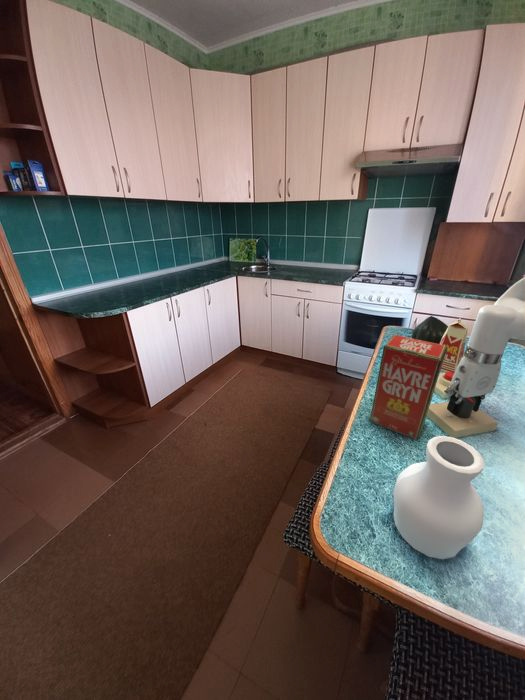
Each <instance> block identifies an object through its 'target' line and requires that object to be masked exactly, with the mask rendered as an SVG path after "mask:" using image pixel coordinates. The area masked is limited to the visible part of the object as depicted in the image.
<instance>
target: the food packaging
mask: <svg viewBox="0 0 525 700" xmlns="http://www.w3.org/2000/svg"><path fill="white" fill-rule="evenodd" d="M446 351H447V346H446V345H441V344H436V343H431V342H426V341H422V340H417V339H413V338H412V337H407V336H403V335H399V334H392V335H391V337H390V338H389V339H388V341H387V342H386V343H385V345H383V350H382V355H381V358H380V359H381V360H380V365H379V369H378V376H377V380H376V386H375V387H376V388H375V392H374V396H373V400H372V407H371V411H370V417H369V422H371V423H374V424H376V425H378V426H381V427H383V428H386V429H388V430H390V431H393V432H395V433H399V434H401V435H403V436H405V437H408V438H411V439H413V440H416V441H417V440H419V438H420V436H421V434H422V431H423V428H424V426H425V422H426V420H427V413H428V410H429V407H430V405H431V403H432V400H433V396H434V394H435V392H434V390H435V386H436V383H437V380H438V377H439V375H440V374H441V367H442V364H443V360H444V357H445V354H446Z"/></svg>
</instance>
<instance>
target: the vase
mask: <svg viewBox="0 0 525 700" xmlns="http://www.w3.org/2000/svg"><path fill="white" fill-rule="evenodd" d="M425 456H426V461H420V462H415V463H412V464H410V465H408V466H407V467H406V468H404V469H402V471H401V472H399V474H398V476H397V479H396V481H395V485H394V487H393V493H392V494H393V496H392V497H393V507H394V508H393V519H394V524H395V527H396V529H397V531H398V532H399V534H400V536H401V537H402V539H403V540H404V541H406V542H407V544H408V545H410V546H411V548H412V549H415V550H416V551H418V552H419V553H421V554H423V555H425V556H427V557H429V558H434V559H438V560H446V559H450V558H454V557H456V555H457V554H459V552H460V551H461V550H462V549H464V548H465V547H467V546H468V545H470V543H472V542H473V540H475V538H476V537H477V536H478V535H479V534H480V533H481V531H482V529H483V526H484V516H485V515H484V514H485V513H484V511H485V510H484V505H483V502H482V499H481V498H480V495H479V493H478V491H477V490H476V488H475V486H474V485H473V483H471V482H472V481H473V480H475V479H477V477H478V476H479V475H480V474H482V472H483V471H484V467H485V460H484V459H483V457H482V455H481V454H480V452H479V451H478V450H477V449H475V448H474V447H473V446H472V445H471V444H469V443H467V442H465V441H464V440H461V439H458V438H453V437H450V436H448V435H447V436H445V435H438V436H433V437H432V438H430V439H429V440H428V441H427V444H426V449H425Z"/></svg>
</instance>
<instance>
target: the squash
mask: <svg viewBox="0 0 525 700" xmlns="http://www.w3.org/2000/svg"><path fill="white" fill-rule="evenodd" d="M448 326H449V325H448V324H446V323H445V322H444V321H442V320H441V319H439V318H438V317H435V316H433V315H430V316H428V317H426V318H425V319H424V320H423V321H422V322H420V323H419V324H417V325H416V327H415V328H413V331H412V333H411V338H413V339H417V340H422V341H426V342H431V343H436V344H440V341H441V339H442V337H443V335H444V333H445V332H446V330H447V328H448Z"/></svg>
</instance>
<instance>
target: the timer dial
mask: <svg viewBox="0 0 525 700" xmlns="http://www.w3.org/2000/svg"><path fill="white" fill-rule="evenodd" d="M456 397H457V398H458V397H459V394H458V395H457V396H456ZM475 402H476V399H475V398H474V397H464V398H463V399H462V401H461V402H460V404H461V407H460V409H459V412H458V415H456V416H457V417H460V418H469V417H470V415H471V412H472V410H473V407H474V405H475Z"/></svg>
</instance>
